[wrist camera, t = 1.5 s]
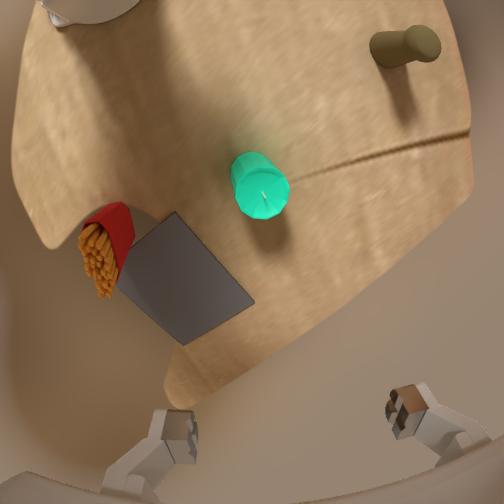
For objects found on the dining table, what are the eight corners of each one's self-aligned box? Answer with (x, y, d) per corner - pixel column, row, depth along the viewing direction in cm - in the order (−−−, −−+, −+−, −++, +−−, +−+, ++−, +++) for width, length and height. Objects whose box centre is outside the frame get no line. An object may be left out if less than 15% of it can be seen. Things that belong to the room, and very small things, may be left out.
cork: (396, 75, 37) (441, 74, 27) (364, 55, 35) (405, 47, 26) (407, 45, 35) (452, 38, 25) (376, 24, 33) (417, 11, 23)
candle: (248, 201, 44) (260, 235, 33) (220, 170, 41) (223, 194, 31) (281, 175, 43) (304, 201, 32) (255, 142, 40) (270, 157, 30)
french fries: (101, 199, 41) (65, 236, 29) (127, 194, 41) (98, 230, 30) (115, 254, 45) (89, 304, 34) (140, 251, 45) (119, 301, 34)
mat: (103, 271, 46) (102, 272, 46) (175, 211, 43) (174, 213, 43) (183, 344, 55) (183, 346, 54) (254, 300, 52) (254, 302, 52)
